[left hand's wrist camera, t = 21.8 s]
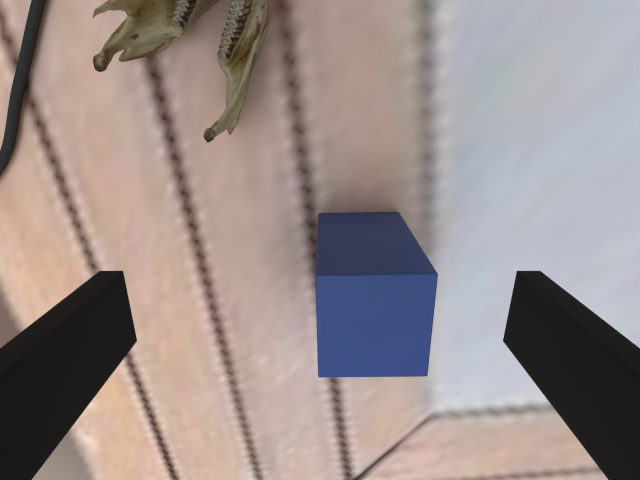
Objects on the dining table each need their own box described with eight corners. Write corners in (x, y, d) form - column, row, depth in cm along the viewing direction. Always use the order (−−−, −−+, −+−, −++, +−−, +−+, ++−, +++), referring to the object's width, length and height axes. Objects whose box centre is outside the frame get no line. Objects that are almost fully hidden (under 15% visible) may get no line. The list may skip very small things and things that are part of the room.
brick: (398, 211, 32) (438, 273, 21) (394, 286, 35) (427, 376, 24) (318, 213, 32) (315, 275, 21) (320, 287, 35) (318, 377, 24)
